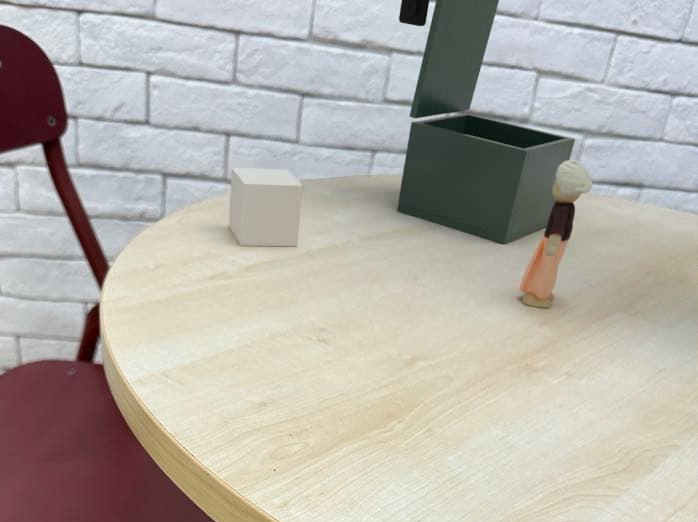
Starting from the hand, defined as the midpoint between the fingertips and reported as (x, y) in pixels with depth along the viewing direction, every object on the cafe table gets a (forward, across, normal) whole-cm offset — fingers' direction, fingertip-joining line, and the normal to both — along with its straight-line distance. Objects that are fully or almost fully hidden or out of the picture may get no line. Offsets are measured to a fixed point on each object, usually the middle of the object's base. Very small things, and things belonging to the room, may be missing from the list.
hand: (433, 23), depth 96 cm
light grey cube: (+19, -28, 0) cm, 34 cm away
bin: (+19, 0, -10) cm, 22 cm away
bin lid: (+1, 0, -4) cm, 4 cm away
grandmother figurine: (+19, -20, -28) cm, 40 cm away
